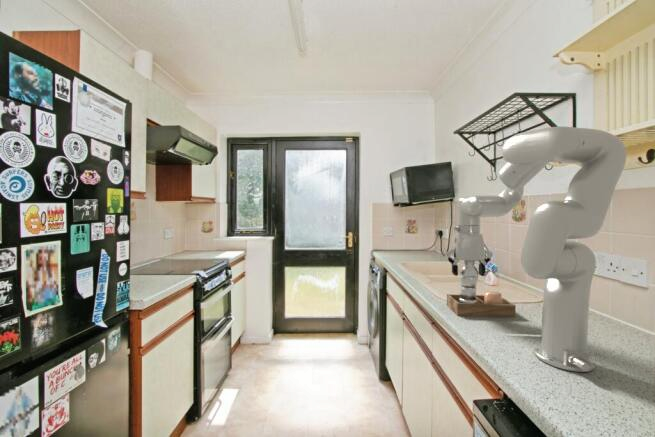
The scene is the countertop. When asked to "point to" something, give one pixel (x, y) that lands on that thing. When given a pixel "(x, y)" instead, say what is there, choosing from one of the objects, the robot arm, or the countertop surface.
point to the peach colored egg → (492, 297)
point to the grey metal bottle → (468, 283)
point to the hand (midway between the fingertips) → (468, 275)
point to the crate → (480, 307)
